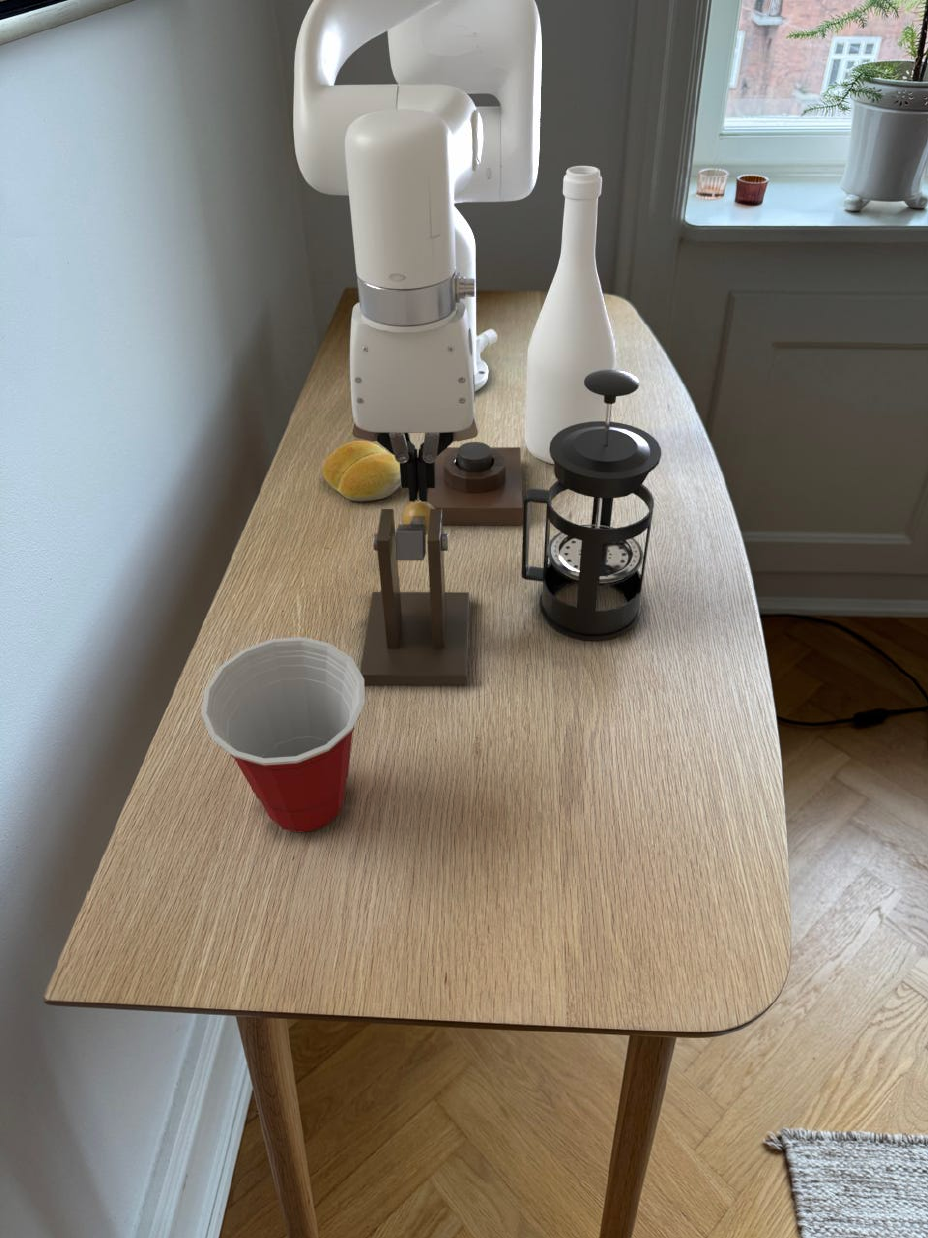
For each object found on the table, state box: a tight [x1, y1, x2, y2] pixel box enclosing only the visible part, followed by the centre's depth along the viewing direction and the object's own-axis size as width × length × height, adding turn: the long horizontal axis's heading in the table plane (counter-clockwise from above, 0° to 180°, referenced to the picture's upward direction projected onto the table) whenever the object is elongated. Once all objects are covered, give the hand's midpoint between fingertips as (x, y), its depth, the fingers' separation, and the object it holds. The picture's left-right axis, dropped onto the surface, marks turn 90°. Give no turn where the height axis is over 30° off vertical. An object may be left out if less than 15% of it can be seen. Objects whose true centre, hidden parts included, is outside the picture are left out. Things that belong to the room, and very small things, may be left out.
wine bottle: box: [524, 165, 617, 465], centre depth 96 cm, size 10×10×30 cm
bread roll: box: [322, 440, 401, 502], centre depth 100 cm, size 8×9×4 cm
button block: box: [427, 446, 524, 526], centre depth 98 cm, size 12×10×4 cm
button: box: [458, 441, 492, 472], centre depth 96 cm, size 4×4×2 cm
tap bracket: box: [359, 508, 470, 686], centre depth 77 cm, size 11×9×13 cm
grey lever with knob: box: [395, 500, 435, 561], centre depth 79 cm, size 13×3×3 cm, turn 178°
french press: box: [521, 369, 662, 642], centre depth 77 cm, size 12×9×23 cm
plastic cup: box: [200, 636, 365, 833], centre depth 64 cm, size 11×11×12 cm
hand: (419, 492), depth 83 cm, fingers closed
